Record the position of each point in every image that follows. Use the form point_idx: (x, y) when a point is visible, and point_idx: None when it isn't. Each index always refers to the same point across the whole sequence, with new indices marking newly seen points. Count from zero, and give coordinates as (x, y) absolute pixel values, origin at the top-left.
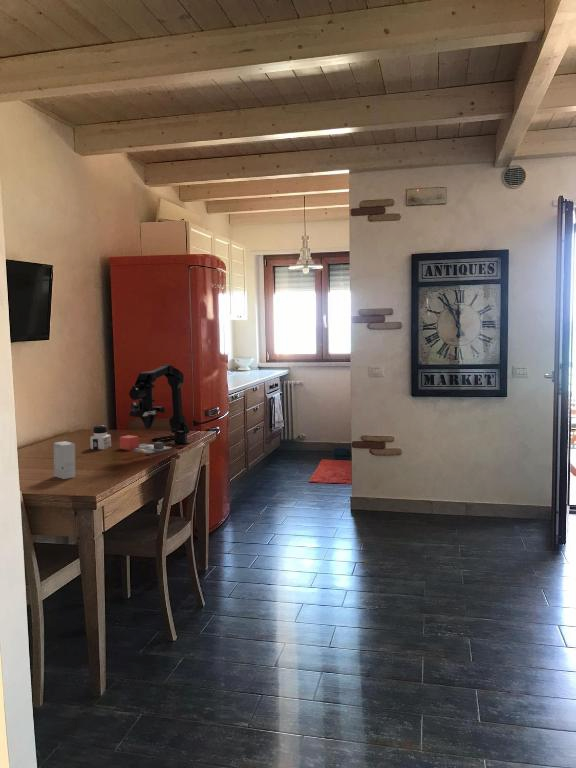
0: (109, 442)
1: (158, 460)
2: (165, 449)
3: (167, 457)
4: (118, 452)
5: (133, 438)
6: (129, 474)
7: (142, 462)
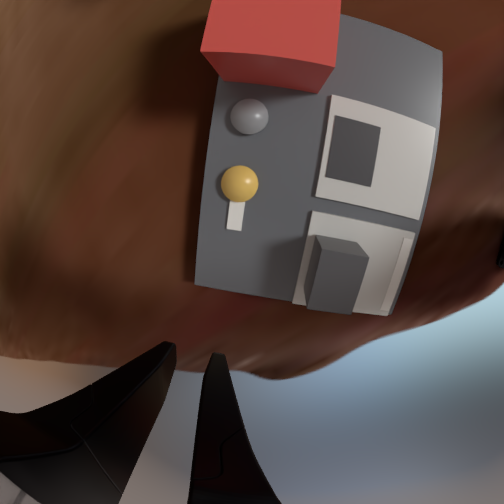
0: None
1: None
2: None
3: None
4: None
5: (260, 58)
6: (21, 351)
7: (96, 318)
